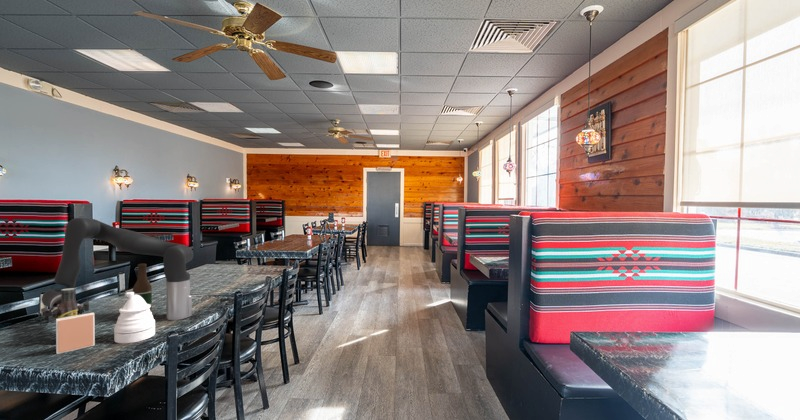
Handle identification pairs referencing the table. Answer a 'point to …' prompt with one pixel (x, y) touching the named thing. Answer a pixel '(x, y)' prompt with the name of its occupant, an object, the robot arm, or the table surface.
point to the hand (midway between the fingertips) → (68, 313)
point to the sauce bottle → (67, 304)
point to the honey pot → (134, 321)
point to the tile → (75, 332)
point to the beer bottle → (143, 285)
